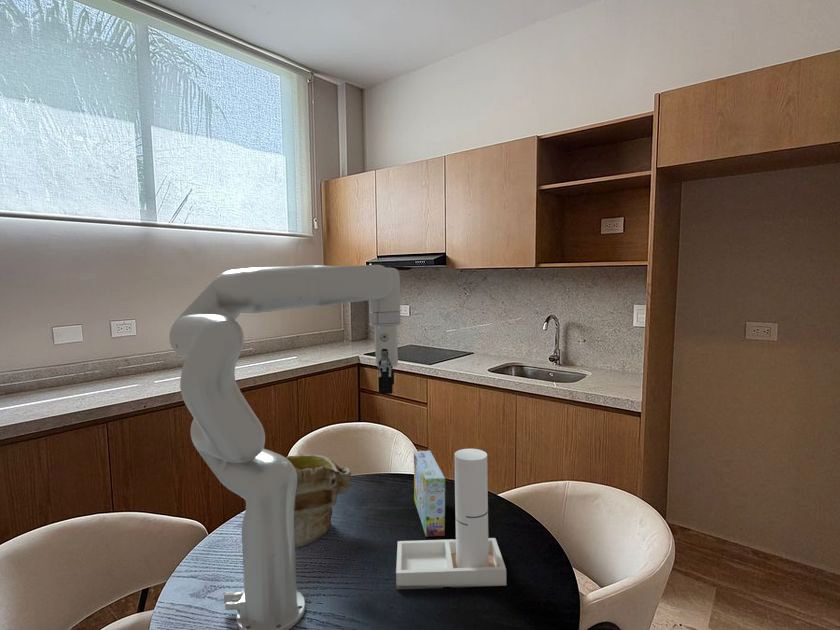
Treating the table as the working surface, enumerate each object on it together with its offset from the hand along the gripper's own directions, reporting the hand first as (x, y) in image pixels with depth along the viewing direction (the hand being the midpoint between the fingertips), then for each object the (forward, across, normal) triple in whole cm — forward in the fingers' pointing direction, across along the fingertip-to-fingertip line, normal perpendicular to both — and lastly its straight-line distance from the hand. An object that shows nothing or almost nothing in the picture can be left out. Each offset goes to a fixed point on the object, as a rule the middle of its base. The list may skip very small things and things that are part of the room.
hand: (386, 389), depth 109 cm
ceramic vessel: (+38, +6, +22) cm, 45 cm away
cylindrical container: (+38, -12, -19) cm, 44 cm away
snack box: (+39, +12, -10) cm, 42 cm away
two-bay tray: (+38, -12, -14) cm, 42 cm away
